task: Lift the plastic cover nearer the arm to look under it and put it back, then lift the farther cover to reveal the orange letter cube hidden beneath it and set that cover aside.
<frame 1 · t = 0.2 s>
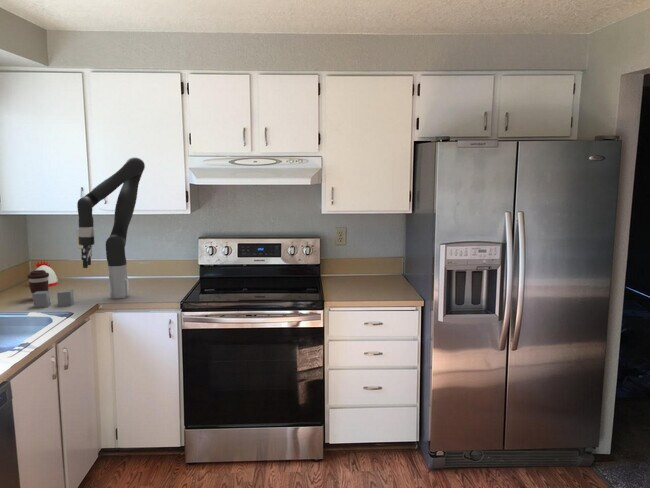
hand: (87, 266, 275), 17 cm above the countertop, tool pointing down, fingers open, 8 cm apart
coffee cup: (40, 299, 279), on the countertop
cover b: (42, 306, 264), on the countertop
cover a: (66, 304, 267), on the countertop
kitchen timer: (45, 285, 312), on the countertop
letter cube: (42, 302, 264), in the cover b
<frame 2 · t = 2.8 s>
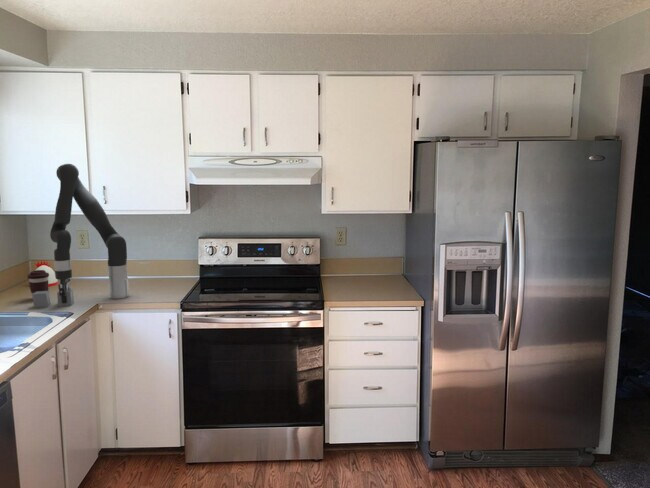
hand: (65, 301, 267), 2 cm above the countertop, tool pointing down, fingers closed on cover a, 6 cm apart
cover a: (66, 304, 267), on the countertop, touching gripper
everything else where it was.
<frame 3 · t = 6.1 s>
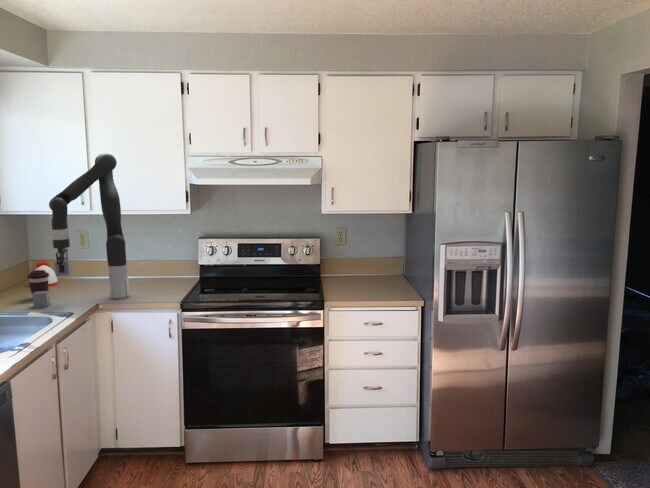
hand: (63, 271, 264), 17 cm above the countertop, tool pointing down, fingers closed on cover a, 6 cm apart
cover a: (63, 274, 265), point 15 cm above the countertop, touching gripper
everything else where it was.
when the fingers open (3 cm above the countertop, at t = 9.2 s): cover a stays where it is, on the countertop.
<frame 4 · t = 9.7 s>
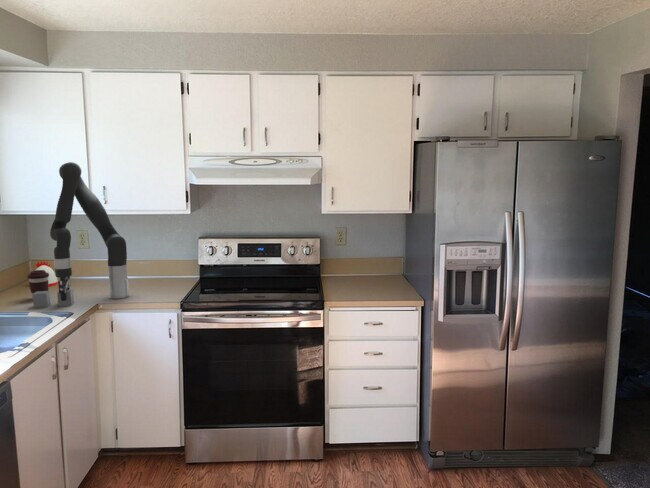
hand: (65, 298, 266), 3 cm above the countertop, tool pointing down, fingers open, 8 cm apart
cover a: (66, 304, 267), on the countertop
everything else where it was.
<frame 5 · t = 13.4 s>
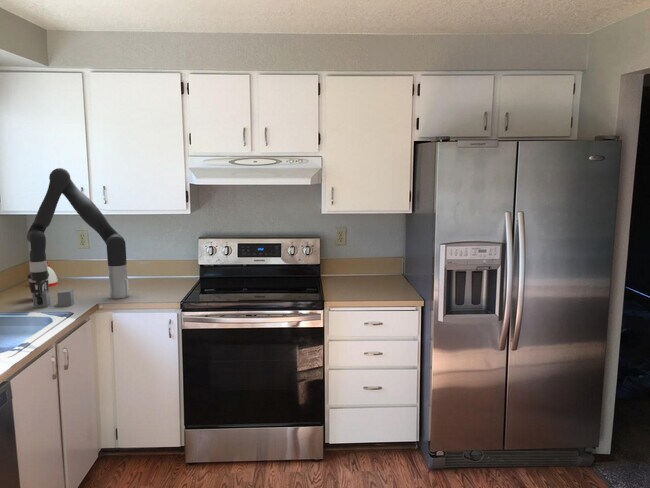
hand: (42, 303, 264), 2 cm above the countertop, tool pointing down, fingers closed on cover b, 6 cm apart
cover b: (42, 306, 264), on the countertop, touching gripper
everything else where it was.
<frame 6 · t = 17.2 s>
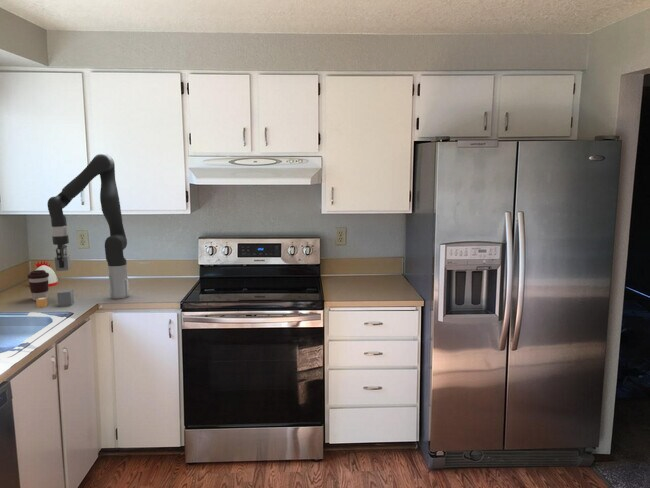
hand: (63, 266, 276), 17 cm above the countertop, tool pointing down, fingers closed on cover b, 6 cm apart
cover b: (63, 269, 277), point 16 cm above the countertop, touching gripper
everything else where it was.
when the fingers open (3 cm above the countertop, at t = 20.9 s): cover b stays where it is, on the countertop.
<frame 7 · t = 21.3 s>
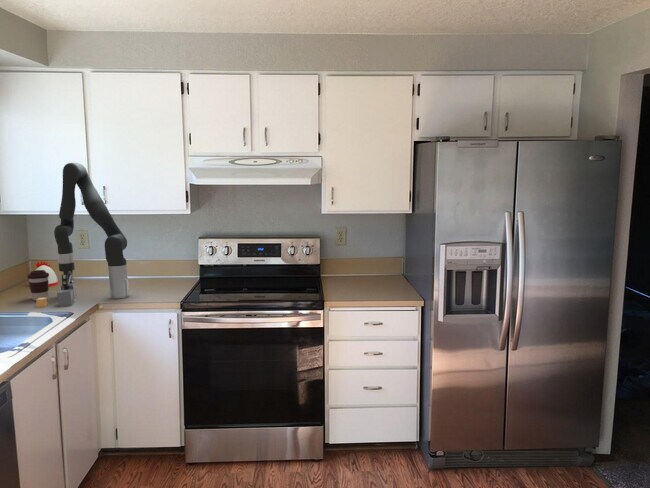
hand: (68, 291, 281), 3 cm above the countertop, tool pointing down, fingers open, 8 cm apart
cover b: (69, 297, 282), on the countertop
everything else where it was.
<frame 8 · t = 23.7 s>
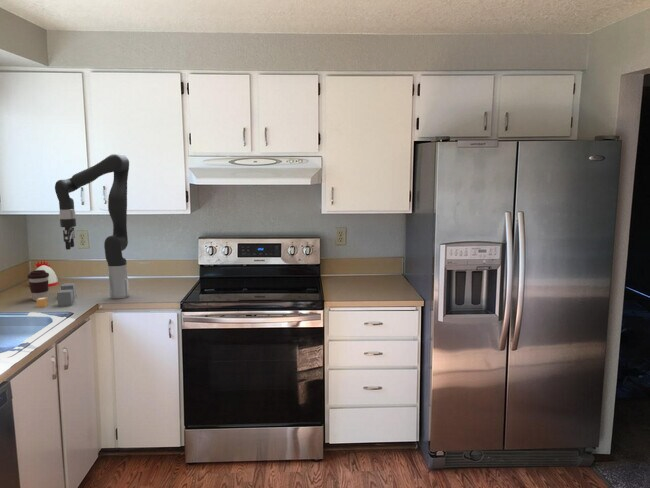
hand: (70, 248, 280), 26 cm above the countertop, tool pointing down, fingers open, 8 cm apart
nothing on the countertop moved.
at the end: cover b inside the target area (0.0 cm from its centre), on the countertop; cover b tilted 0°; cover a moved 0.0 cm from its start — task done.
